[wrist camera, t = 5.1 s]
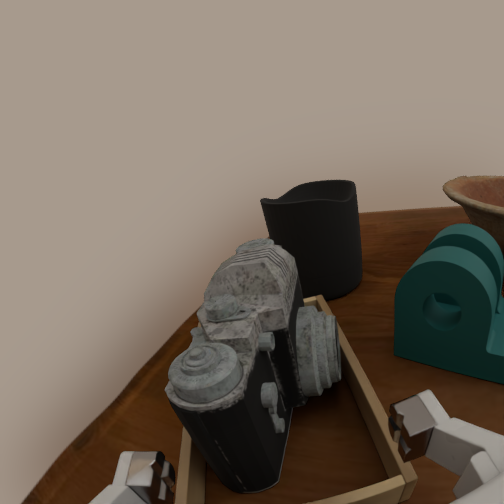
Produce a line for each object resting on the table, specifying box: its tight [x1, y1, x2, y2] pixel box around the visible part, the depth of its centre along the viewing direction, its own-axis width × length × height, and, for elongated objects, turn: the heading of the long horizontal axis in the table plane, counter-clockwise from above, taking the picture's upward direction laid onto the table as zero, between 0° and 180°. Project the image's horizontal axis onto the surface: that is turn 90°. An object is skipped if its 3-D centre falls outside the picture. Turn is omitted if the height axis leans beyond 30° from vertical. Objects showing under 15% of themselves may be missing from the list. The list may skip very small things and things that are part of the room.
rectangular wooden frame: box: [175, 295, 418, 504], centre depth 18 cm, size 11×18×2 cm, turn 4°
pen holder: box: [260, 180, 362, 300], centre depth 32 cm, size 9×9×10 cm
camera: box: [165, 239, 341, 493], centre depth 18 cm, size 15×7×10 cm, turn 168°
